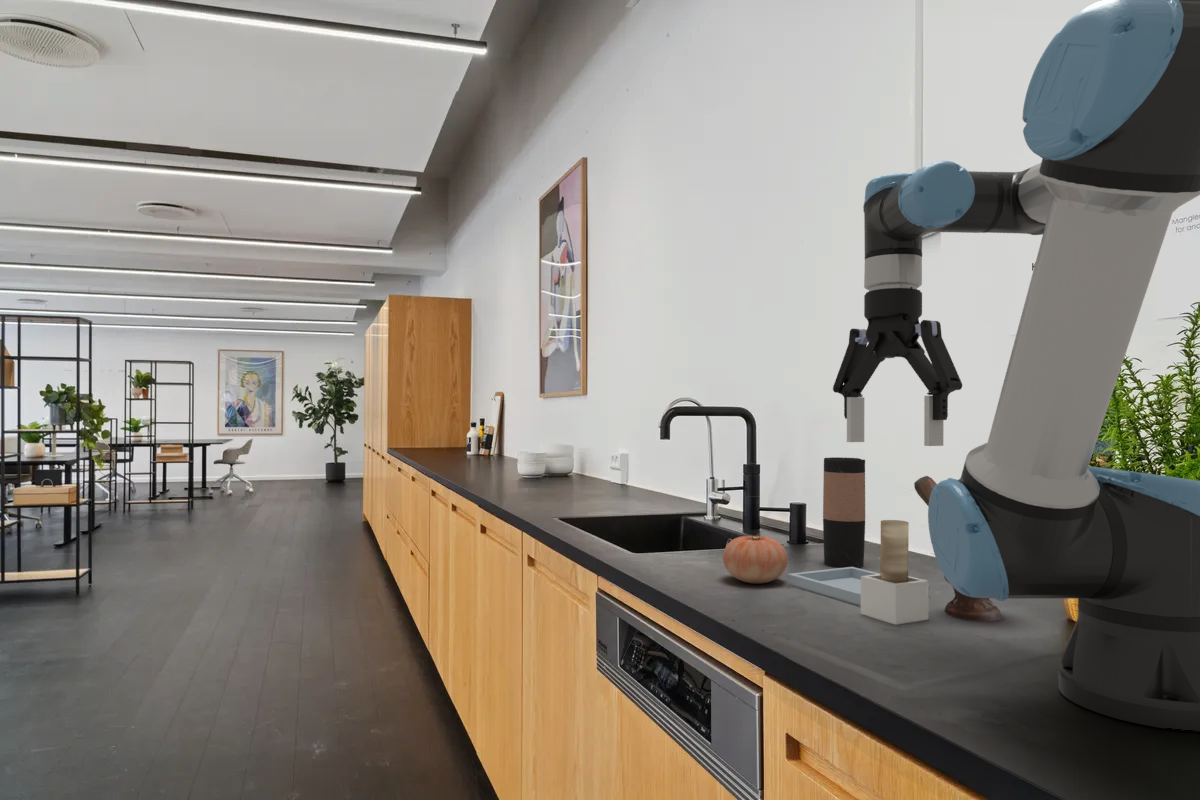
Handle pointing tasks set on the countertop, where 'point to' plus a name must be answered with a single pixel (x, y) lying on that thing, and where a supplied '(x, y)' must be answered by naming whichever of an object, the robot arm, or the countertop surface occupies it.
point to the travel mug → (844, 512)
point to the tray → (832, 583)
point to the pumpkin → (755, 559)
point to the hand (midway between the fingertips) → (892, 444)
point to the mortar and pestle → (961, 603)
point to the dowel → (894, 551)
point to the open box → (894, 599)
